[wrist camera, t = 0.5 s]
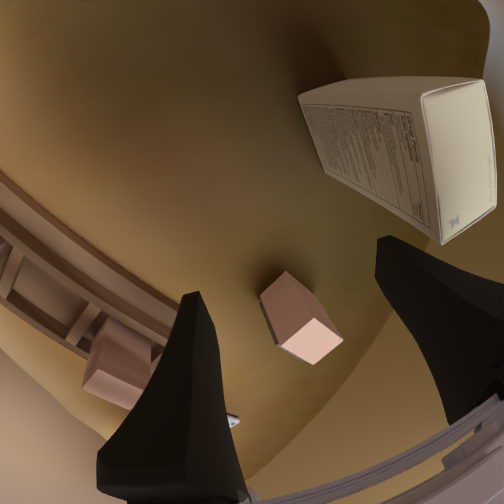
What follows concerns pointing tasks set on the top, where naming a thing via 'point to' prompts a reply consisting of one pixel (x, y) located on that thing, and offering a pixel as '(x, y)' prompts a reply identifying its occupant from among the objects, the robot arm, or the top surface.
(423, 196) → the skincare box
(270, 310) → the rose block
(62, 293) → the walnut rack
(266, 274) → the top surface
